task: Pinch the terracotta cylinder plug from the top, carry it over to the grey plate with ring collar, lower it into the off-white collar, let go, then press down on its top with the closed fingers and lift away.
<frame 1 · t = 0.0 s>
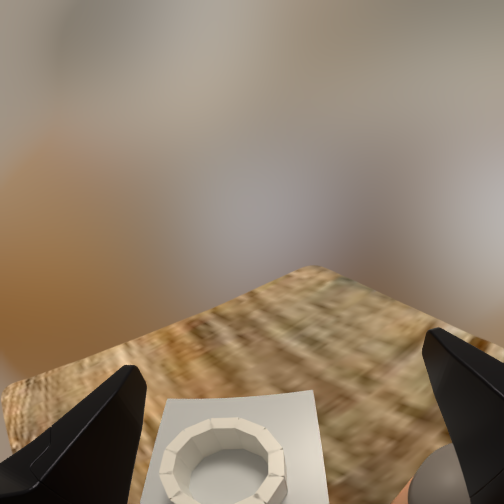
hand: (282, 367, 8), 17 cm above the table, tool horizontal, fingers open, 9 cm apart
plate with ring collar: (232, 485, 17), on the table
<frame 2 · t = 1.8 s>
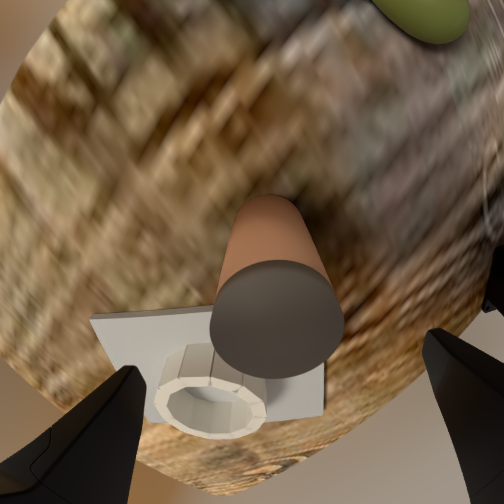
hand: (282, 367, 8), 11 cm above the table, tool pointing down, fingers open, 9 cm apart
plug: (268, 229, 19), on the table
plate with ring collar: (215, 373, 24), on the table
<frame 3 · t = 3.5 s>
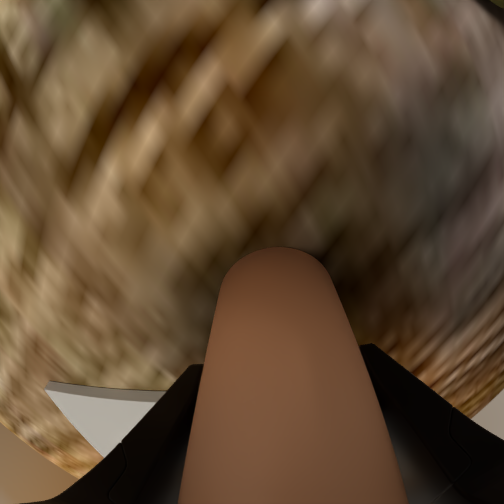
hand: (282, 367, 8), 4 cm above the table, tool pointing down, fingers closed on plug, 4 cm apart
plug: (277, 300, 11), on the table, touching gripper
plate with ring collar: (205, 452, 17), on the table
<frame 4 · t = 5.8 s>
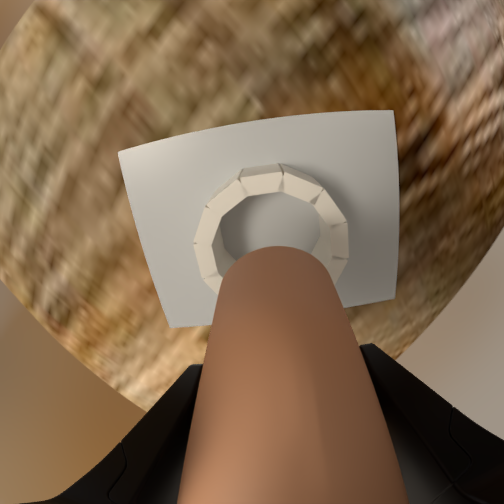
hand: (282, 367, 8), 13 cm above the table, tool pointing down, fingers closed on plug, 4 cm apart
plug: (276, 299, 11), point 10 cm above the table, touching gripper
plate with ring collar: (270, 225, 20), on the table
when the fingers open (5 cm above the table, at t = 7.9 s): plug stays where it is, resting on plate with ring collar.
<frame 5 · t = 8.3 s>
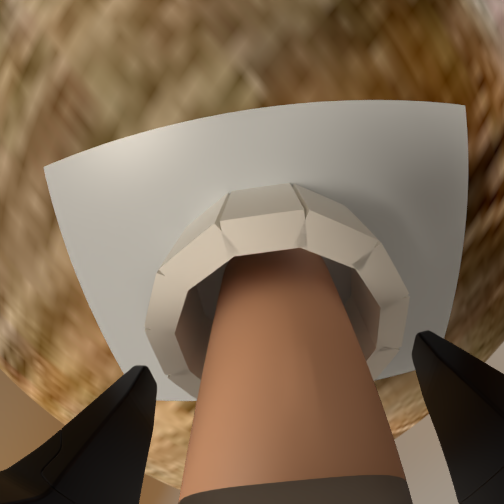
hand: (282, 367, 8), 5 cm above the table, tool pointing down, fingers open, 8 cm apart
plug: (276, 286, 12), point 1 cm above the table, touching plate with ring collar
plate with ring collar: (274, 278, 13), on the table
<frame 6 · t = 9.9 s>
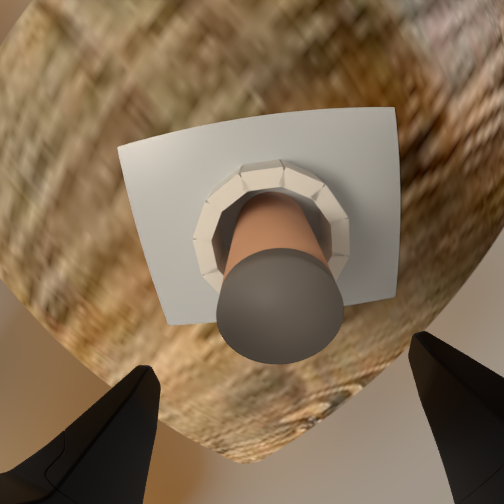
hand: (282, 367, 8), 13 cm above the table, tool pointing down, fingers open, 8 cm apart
plug: (271, 225, 19), point 1 cm above the table, touching plate with ring collar
plate with ring collar: (270, 222, 20), on the table
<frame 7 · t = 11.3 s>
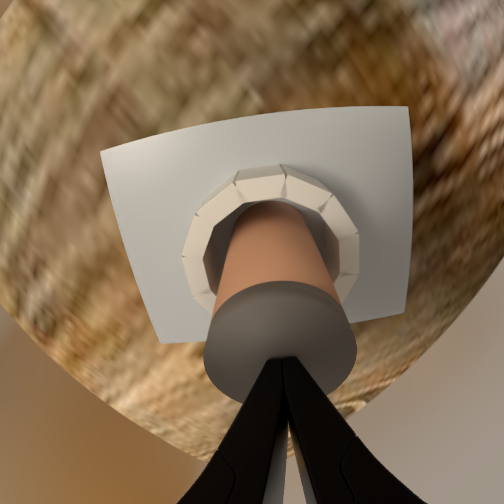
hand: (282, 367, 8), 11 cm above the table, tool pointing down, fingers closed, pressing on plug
plug: (270, 237, 17), point 1 cm above the table, touching gripper, plate with ring collar
plate with ring collar: (269, 234, 18), on the table
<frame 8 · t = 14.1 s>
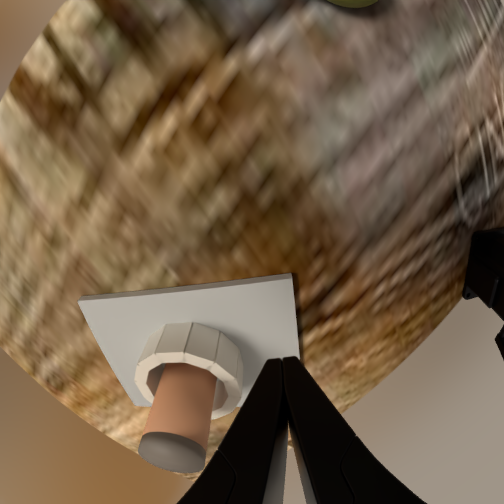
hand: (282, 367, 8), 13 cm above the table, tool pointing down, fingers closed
plug: (193, 360, 24), point 1 cm above the table, touching plate with ring collar
plate with ring collar: (195, 354, 25), on the table
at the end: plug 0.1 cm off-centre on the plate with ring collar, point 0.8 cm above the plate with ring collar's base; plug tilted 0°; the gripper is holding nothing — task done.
